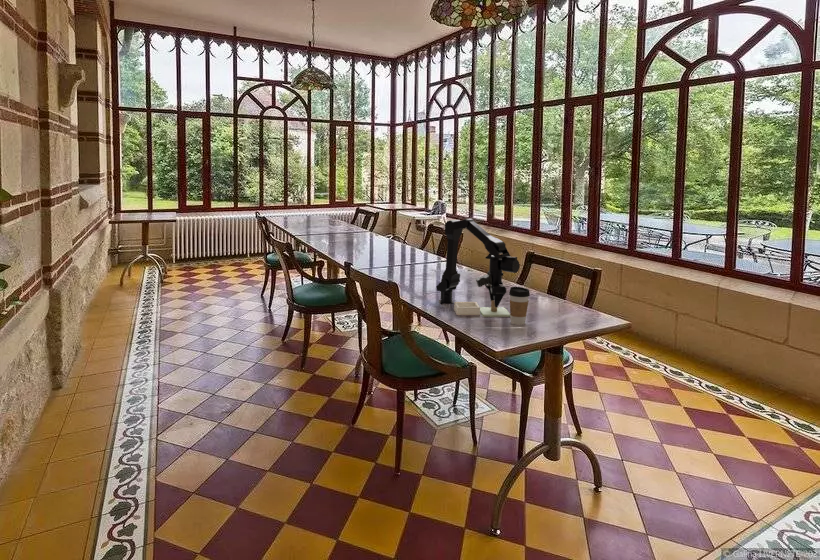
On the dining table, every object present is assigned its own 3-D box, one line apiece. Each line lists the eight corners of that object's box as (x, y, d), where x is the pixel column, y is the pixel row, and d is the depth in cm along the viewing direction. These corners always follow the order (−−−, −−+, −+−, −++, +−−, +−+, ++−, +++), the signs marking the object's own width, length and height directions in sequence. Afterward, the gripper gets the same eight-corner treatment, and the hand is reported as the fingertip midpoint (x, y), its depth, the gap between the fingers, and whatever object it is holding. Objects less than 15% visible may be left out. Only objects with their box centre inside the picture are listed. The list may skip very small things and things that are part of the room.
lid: (478, 309, 242) (478, 297, 241) (504, 309, 243) (504, 297, 242) (482, 316, 231) (483, 304, 230) (510, 316, 231) (511, 304, 230)
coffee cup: (515, 319, 228) (517, 285, 225) (532, 323, 223) (534, 288, 219) (503, 323, 223) (505, 288, 220) (520, 327, 217) (522, 291, 214)
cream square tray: (454, 310, 242) (454, 301, 241) (475, 310, 242) (476, 301, 242) (457, 316, 232) (457, 307, 231) (479, 316, 233) (480, 307, 232)
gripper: (473, 265, 242) (472, 299, 245) (481, 273, 223) (479, 309, 227) (498, 266, 242) (496, 299, 245) (507, 274, 224) (505, 310, 227)
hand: (494, 304), depth 236 cm, fingers open, 9 cm apart
